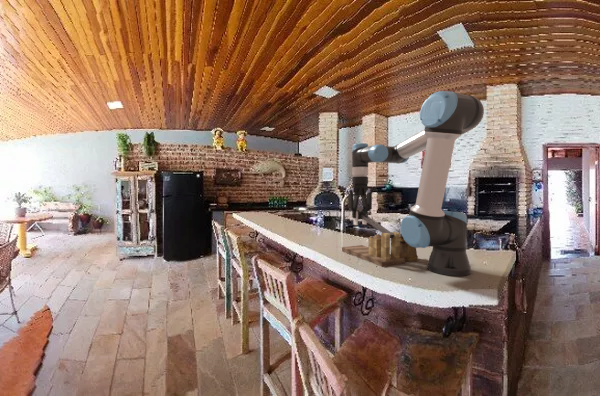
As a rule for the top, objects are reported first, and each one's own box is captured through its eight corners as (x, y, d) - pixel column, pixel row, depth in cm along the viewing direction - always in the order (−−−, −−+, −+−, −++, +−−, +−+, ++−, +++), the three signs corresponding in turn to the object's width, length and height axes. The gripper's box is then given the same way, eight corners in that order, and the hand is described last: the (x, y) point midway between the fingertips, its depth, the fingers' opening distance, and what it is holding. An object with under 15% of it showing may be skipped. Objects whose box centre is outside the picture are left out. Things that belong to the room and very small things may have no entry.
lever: (395, 240, 126) (397, 231, 125) (386, 241, 124) (389, 232, 123) (359, 214, 149) (361, 207, 147) (352, 215, 147) (353, 207, 146)
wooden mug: (427, 258, 135) (427, 218, 135) (411, 263, 127) (411, 220, 126) (409, 254, 142) (409, 216, 141) (392, 259, 134) (393, 219, 133)
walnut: (384, 243, 132) (384, 234, 132) (377, 244, 130) (377, 235, 130) (378, 242, 136) (378, 233, 135) (371, 242, 134) (371, 234, 134)
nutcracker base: (404, 263, 127) (405, 232, 126) (381, 266, 122) (382, 234, 121) (361, 248, 154) (362, 223, 153) (341, 251, 149) (342, 225, 148)
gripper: (370, 176, 151) (369, 222, 152) (340, 176, 144) (340, 224, 145) (379, 176, 144) (379, 224, 145) (349, 175, 137) (349, 226, 138)
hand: (360, 224), depth 145 cm, fingers closed on lever, 4 cm apart
